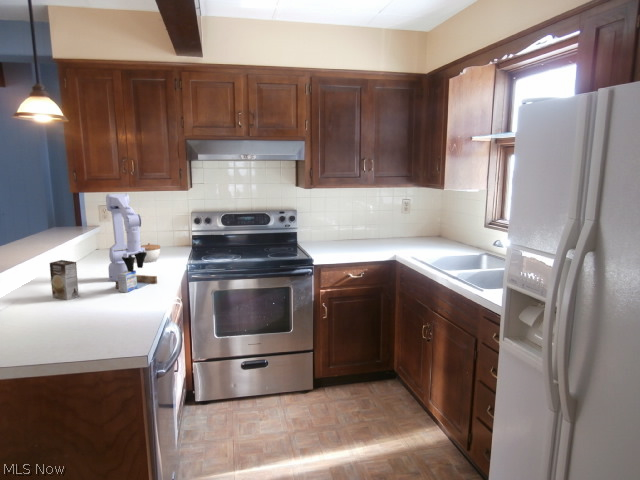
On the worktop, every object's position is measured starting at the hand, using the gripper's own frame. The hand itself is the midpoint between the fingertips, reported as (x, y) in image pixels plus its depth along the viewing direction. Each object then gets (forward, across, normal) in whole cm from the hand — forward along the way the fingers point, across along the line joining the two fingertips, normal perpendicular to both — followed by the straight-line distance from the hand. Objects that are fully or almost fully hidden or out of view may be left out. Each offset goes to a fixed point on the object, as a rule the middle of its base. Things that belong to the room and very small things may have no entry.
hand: (135, 269), depth 201 cm
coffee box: (+11, -15, +25) cm, 31 cm away
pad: (+10, +9, +5) cm, 14 cm away
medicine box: (+10, +1, +5) cm, 11 cm away
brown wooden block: (+10, +9, +5) cm, 14 cm away
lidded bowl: (+10, +59, +28) cm, 66 cm away
